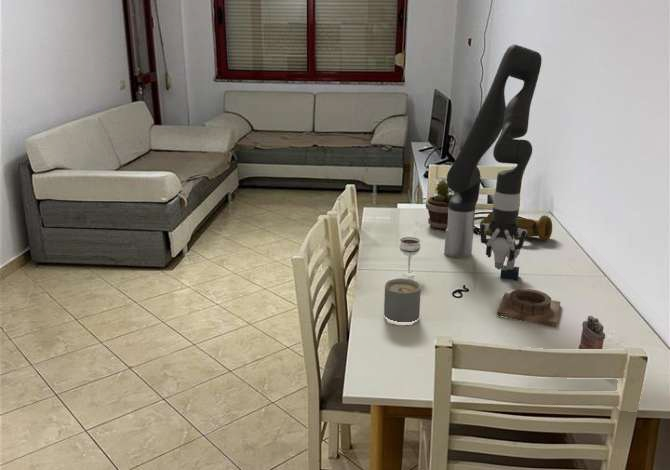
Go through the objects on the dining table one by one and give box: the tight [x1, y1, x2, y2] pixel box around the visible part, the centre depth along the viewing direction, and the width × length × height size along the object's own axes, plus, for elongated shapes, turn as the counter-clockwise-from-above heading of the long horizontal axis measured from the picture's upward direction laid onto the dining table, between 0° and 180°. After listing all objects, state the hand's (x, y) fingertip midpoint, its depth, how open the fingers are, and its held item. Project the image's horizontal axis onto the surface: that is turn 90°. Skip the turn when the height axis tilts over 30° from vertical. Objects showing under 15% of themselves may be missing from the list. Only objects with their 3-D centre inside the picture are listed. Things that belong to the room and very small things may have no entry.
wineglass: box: [399, 236, 421, 273], centre depth 196 cm, size 7×7×12 cm
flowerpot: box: [425, 176, 454, 231], centre depth 241 cm, size 14×15×20 cm
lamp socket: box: [496, 288, 561, 328], centre depth 171 cm, size 16×14×4 cm
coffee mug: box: [383, 277, 422, 322], centre depth 168 cm, size 13×10×10 cm
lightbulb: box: [491, 237, 511, 270], centre depth 181 cm, size 6×6×11 cm
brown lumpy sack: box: [578, 315, 606, 350], centre depth 147 cm, size 8×3×10 cm, turn 5°
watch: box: [499, 249, 521, 282], centre depth 193 cm, size 6×8×11 cm
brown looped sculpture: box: [479, 211, 553, 242], centre depth 230 cm, size 18×13×22 cm
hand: (499, 258), depth 182 cm, fingers closed on lightbulb, 5 cm apart
